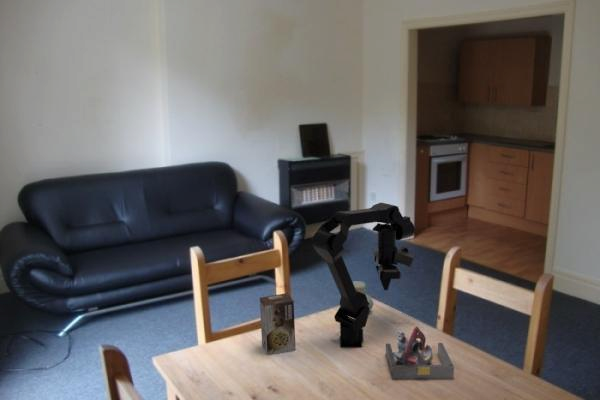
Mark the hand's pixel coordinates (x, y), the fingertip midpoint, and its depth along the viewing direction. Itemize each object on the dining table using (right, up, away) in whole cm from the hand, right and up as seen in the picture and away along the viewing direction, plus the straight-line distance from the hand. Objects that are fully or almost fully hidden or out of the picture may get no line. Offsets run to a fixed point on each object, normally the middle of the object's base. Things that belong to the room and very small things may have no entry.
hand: (385, 289), depth 179 cm
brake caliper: (+5, -18, -18) cm, 26 cm away
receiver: (+6, -18, -20) cm, 28 cm away
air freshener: (-8, -10, +16) cm, 20 cm away
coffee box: (-34, -16, -9) cm, 39 cm away
